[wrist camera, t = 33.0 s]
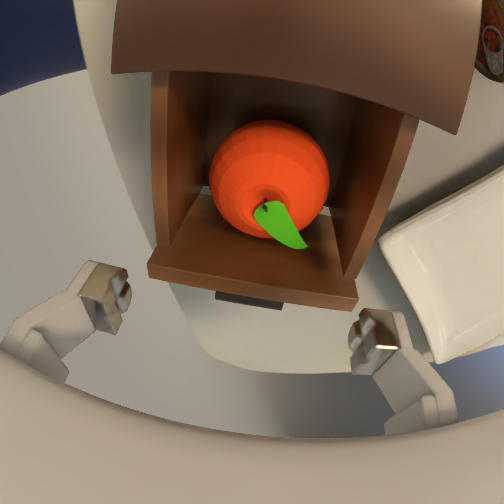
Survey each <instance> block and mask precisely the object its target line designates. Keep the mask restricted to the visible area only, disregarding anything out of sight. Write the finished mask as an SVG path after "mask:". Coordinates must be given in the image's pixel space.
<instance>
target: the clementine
mask: <svg viewBox="0 0 504 504" xmlns="http://www.w3.org/2000/svg"><path fill="white" fill-rule="evenodd" d="M209 183H210V190H211V193H212V196H213V199H214V202H215V205H216V207H217V209H218V210H219V212H220V213H221V215H222V216H223V218H225V219H226V220H227V221H228V222H229V223H230V224H231V225H232V226H233V227H235V228H237V229H239V230H240V231H242V232H244V233H246V234H249V235H253V236H256V237H261V238H275V239H276V240H278V241H280V242H281V243H283V244H285V245H287V246H289V247H291V248H294V249H304V248H306V247H308V246H309V243H308V244H307V245H306V244H305V242H304V241H303V239H302V237H301V236H300V234H299V231H300V230H302V229H303V228H305V227H306V226H308V225H309V224H310V223H311V222H312V221H313V220H314V218H315V217H316V216H317V215H318V214H319V213H320V211H321V210H322V208H323V206H324V204H325V202H326V200H327V197H328V191H329V186H330V175H329V167H328V162H327V160H326V157H325V155H324V153H323V151H322V149H321V148H320V146H319V145H318V144H317V143H316V142H315V140H314V139H313V138H312V137H311V136H310V135H309V134H308V133H306V132H305V131H303V130H302V129H300V128H299V127H298V126H296V125H293V124H290V123H287V122H284V121H281V120H268V119H265V120H260V121H255V122H250V123H248V124H246V125H244V126H242V127H240V128H238V129H236V130H234V131H233V132H232V133H231V134H230V135H228V136H227V137H226V138H225V139H224V140H223V141H222V142H221V144H220V146H219V147H218V149H217V151H216V152H215V154H214V157H213V161H212V165H211V168H210V173H209Z"/></svg>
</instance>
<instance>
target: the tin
mask: <svg viewBox="0 0 504 504" xmlns="http://www.w3.org/2000/svg"><path fill="white" fill-rule="evenodd" d="M474 67H475V68H476V69H477V70H478V71H479V72H480V73H481V74H483V75H484V76H485V77H487V78H488V79H490V80H493V81H496V82H501V83H504V0H482V14H481V25H480V34H479V41H478V48H477V54H476V59H475V65H474Z"/></svg>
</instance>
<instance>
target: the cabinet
mask: <svg viewBox="0 0 504 504" xmlns="http://www.w3.org/2000/svg"><path fill="white" fill-rule="evenodd" d="M481 14H482V0H117V5H116V12H115V21H114V32H113V44H112V63H111V74H122V73H136V72H159V71H189V72H213V73H227V74H238V75H247V76H255V77H263V78H270V79H276V80H282V81H288V82H294V83H299V84H304V85H309V86H313V87H318V88H322V89H326V90H331V91H335V92H338V93H342V94H346V95H350V96H353V97H357V98H360V99H363V100H367V101H370V102H373V103H376V104H379V105H382V106H385V107H388V108H391V109H394V110H396V111H399V112H402V113H404V114H407V115H410V116H412V117H415V118H417V119H420V120H422V121H424V122H427V123H429V124H431V125H434V126H436V127H438V128H440V129H442V130H445V131H447V132H449V133H451V134H453V135H456V134H457V131H458V128H459V124H460V121H461V118H462V114H463V111H464V107H465V104H466V100H467V96H468V92H469V88H470V84H471V79H472V75H473V70H474V65H475V59H476V54H477V48H478V41H479V34H480V25H481Z"/></svg>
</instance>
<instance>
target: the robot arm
mask: <svg viewBox="0 0 504 504" xmlns="http://www.w3.org/2000/svg"><path fill="white" fill-rule="evenodd" d="M127 278H128V274H127V270H126V269H124V268H120V267H116V266H112V265H108V264H104V263H99V262H95V261H91V260H88V261H87V262H85V264H84V265H83V266H82V268H81V269H80V271H79V272H78V274H77V275H76V276H75V278H74V279H73V281H72V282H71V284H70V285H69V287H68V288H67V290H66V291H65V292H64V291H61V292H59V293H57V294H56V295H54V296H52V297H51V298H49V299H47V300H46V301H44V302H42V303H40V304H39V305H37V306H36V307H34V308H32V309H30V310H29V311H27V312H26V313H24V314H22V315H21V316H19V317H17V318H16V319H15V320H14V321H13V323H12V325H11V326H10V328H9V329H8V331H7V333H6V335H5V336H4V338H3V340H2V342H1V343H0V504H504V409H502V410H500V411H496V412H494V413H491V414H487V415H484V416H481V417H477V418H474V419H470V420H467V421H463V422H459V420H458V414H457V409H456V404H455V400H454V395H453V391H452V390H451V389H450V388H449V386H448V385H447V384H446V383H445V382H444V380H443V379H442V378H441V377H440V376H439V375H438V373H437V372H436V371H435V370H434V369H433V367H431V365H430V364H429V363H428V362H427V361H426V359H425V358H424V357H423V356H422V355H421V354H420V353H419V351H418V350H417V349H413V345H412V342H411V338H410V334H409V331H408V328H407V324H406V321H405V318H404V315H403V313H402V312H397V311H388V310H378V309H369V308H364V309H363V310H362V311H361V312H360V314H359V320H358V321H356V322H354V323H353V325H352V326H351V328H350V332H349V335H348V344H349V348H350V349H351V351H352V352H353V354H352V356H351V358H350V361H351V370H352V374H361V375H373V376H372V377H373V378H374V380H375V382H376V383H377V384H378V386H379V388H380V389H381V391H382V392H383V394H384V396H385V397H386V399H387V401H388V402H389V404H390V406H391V407H392V409H393V410H394V412H395V414H396V415H395V416H393V417H392V418H390V419H389V420H387V421H386V422H385V436H374V437H361V438H339V439H306V438H284V437H270V436H260V435H250V434H242V433H235V432H228V431H222V430H216V429H210V428H205V427H200V426H194V425H190V424H185V423H181V422H176V421H172V420H168V419H164V418H160V417H157V416H153V415H149V414H146V413H143V412H139V411H136V410H133V409H130V408H127V407H124V406H121V405H118V404H115V403H112V402H109V401H107V400H104V399H101V398H98V397H96V396H93V395H91V394H88V393H86V392H83V391H81V390H79V389H76V388H74V387H72V386H70V385H67V384H65V381H66V378H67V376H68V373H69V371H68V369H67V367H66V366H65V365H64V363H63V362H62V361H61V359H62V358H63V357H65V356H66V355H67V354H68V353H69V352H71V351H72V350H73V349H74V348H75V347H77V346H78V345H79V344H80V343H82V342H83V341H84V340H85V339H86V338H88V337H89V336H90V335H91V334H92V333H94V332H95V331H96V330H99V331H102V332H106V333H109V334H113V335H116V333H117V331H118V329H119V327H120V325H121V323H122V317H121V314H123V313H124V312H126V311H127V310H128V307H129V305H130V302H131V297H132V293H131V292H132V290H131V286H130V285H129V284H128V282H127V281H126V280H127Z"/></svg>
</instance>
